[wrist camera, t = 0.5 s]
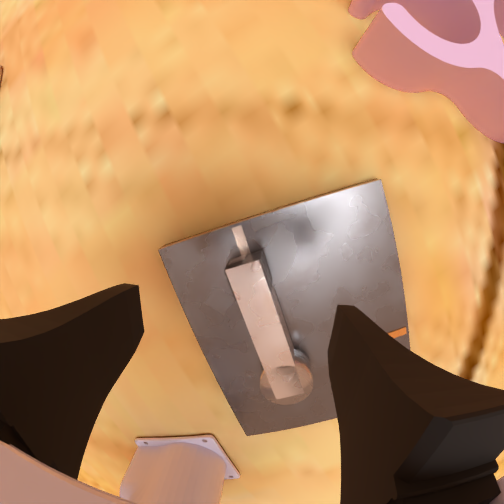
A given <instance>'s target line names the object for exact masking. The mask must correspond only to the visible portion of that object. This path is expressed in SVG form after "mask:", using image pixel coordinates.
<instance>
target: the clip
mask: <svg viewBox="0 0 504 504" xmlns="http://www.w3.org/2000/svg"><path fill="white" fill-rule="evenodd" d="M376 10H380V11H379V12H378V14H377V15H376V17H375V18H374V20H373V21H372V23H371V24H370V26H369V27H368V29H367V30H366V32H365V33H364V35H363V36H362V38H361V39H360V41H359V42H358V44H357V45H356V47H355V48H354V50H353V51H352V55H353V57H354V59H355V60H356V61H357V63H358V64H359V65H360V66H361V67H362V68H363V69H364V70H365V71H366V72H367V73H368V74H369V75H371V76H372V77H373V78H375V79H376V80H378V81H379V82H381V83H383V84H384V85H386V86H388V87H391V88H393V89H396V90H400V91H404V92H414V93H416V92H424V91H434V92H438V93H441V94H443V95H445V96H446V97H448V98H449V99H450V100H451V101H452V102H453V103H454V104H455V105H456V106H457V107H458V109H459V110H460V111H461V113H462V114H463V115H464V116H465V117H466V119H467V120H468V121H469V122H470V123H471V124H472V125H473V126H474V127H475V128H476V129H478V130H479V131H480V132H481V133H483V134H484V135H485V136H487V137H489V138H490V139H492V140H494V141H497V142H500V143H504V44H503V42H502V39H501V36H500V34H501V35H502V36H503V37H504V0H352V2H351V4H350V6H349V9H348V11H349V13H350V14H351V15H352V16H354V17H356V18H358V19H365V18H366V17H367V16H368V15H369V14H370V13H372V12H374V11H376ZM499 33H500V34H499Z"/></svg>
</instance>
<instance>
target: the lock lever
mask: <svg viewBox="0 0 504 504" xmlns="http://www.w3.org/2000/svg"><path fill="white" fill-rule="evenodd" d="M224 273H225V276H226V278H227V281H228V284H229V286H230V289H231V292H232V294H233V297H234V299H235V302H236V301H237V303H238V305H239V308H240V310H241V313H242V315H243V318H244V321H245V323H246V326H247V328H248V331H249V333H250V336H251V338H252V341H253V343H254V346H255V348H256V351H257V353H258V356H259V358H260V361H261V363H262V366H261V377H260V390H261V393H262V395H263V396H264V397H265V398H266V399H267V400H269V401H271V402H273V403H276V404H281V405H290V404H295V403H298V402H300V401H302V400H304V399H305V398H306V397H308V395H309V394H310V393H311V391H312V388H313V378H312V371H311V364H310V360H309V358H308V357H307V356H306V354H304V353H303V352H302V351H300V350H298V349H294V347H293V344H292V341H291V338H290V335H289V332H288V329H287V326H286V323H285V320H284V317H283V314H282V311H281V308H280V305H279V302H278V299H277V296H276V293H275V290H274V287H273V284H272V276H271V273H270V270H269V267H268V264H267V261H266V258H265V255H264V252H263V249H262V250H258V251H255V252H252V253H249V254H245V255H242V256H239V257H235V258H232V259H229V261H228V263H227V265H226V267H225V269H224Z"/></svg>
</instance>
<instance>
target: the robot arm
mask: <svg viewBox="0 0 504 504" xmlns="http://www.w3.org/2000/svg"><path fill="white" fill-rule="evenodd" d="M143 333H144V326H143V319H142V311H141V303H140V294H139V285H132V284H125V283H124V284H120V285H116V286H113V287H111V288H108V289H105V290H103V291H100V292H97V293H95V294H92V295H90V296H87V297H85V298H82V299H80V300H77V301H74V302H71V303H69V304H66V305H63V306H60V307H57V308H54V309H51V310H48V311H44V312H40V313H36V314H32V315H26V316H21V317H15V318H9V319H0V504H220V499H221V494H222V489H223V483H224V479H237V478H239V477H240V473H239V472H238V471H237V469H236V468H235V466H234V465H233V464H232V462H231V461H230V459H229V458H228V456H227V455H226V454H225V452H224V451H223V449H222V448H221V446H220V445H219V443H218V442H217V440H216V439H215V437H214V436H212V435H201V436H187V437H168V438H136V439H135V443H136V444H137V445H138V448H137V450H136V452H135V454H134V456H133V458H132V461H131V463H130V465H129V467H128V469H127V471H126V473H125V476H124V478H123V480H122V482H121V486H120V497H118V496H115V495H112V494H109V493H107V492H104V491H102V490H99V489H97V488H94V487H92V486H89V485H87V484H85V483H82V482H80V481H78V480H77V478H78V474H79V470H80V466H81V462H82V458H83V455H84V452H85V449H86V446H87V443H88V440H89V437H90V434H91V432H92V429H93V426H94V424H95V421H96V419H97V417H98V414H99V412H100V410H101V408H102V405H103V403H104V401H105V399H106V397H107V396H108V394H109V392H110V390H111V389H112V387H113V386H114V384H115V383H116V381H117V379H118V378H119V376H120V375H121V373H122V372H123V370H124V369H125V367H126V366H127V364H128V362H129V361H130V359H131V358H132V356H133V354H134V353H135V351H136V349H137V347H138V345H139V343H140V340H141V338H142V336H143ZM327 353H328V369H329V378H330V383H331V388H332V393H333V398H334V403H335V408H336V413H337V418H338V423H339V431H340V445H341V501H340V504H504V476H503V477H502V478H500V479H499V480H497V481H496V478H495V476H494V474H493V473H495V472H496V471H497V470H498V467H499V466H498V464H497V462H496V460H495V459H496V458H497V457H498V456H499V454H500V453H501V452H502V451H503V450H504V390H501V389H497V388H493V387H489V386H485V385H481V384H478V383H475V382H472V381H469V380H467V379H464V378H461V377H459V376H456V375H454V374H452V373H450V372H448V371H445V370H443V369H441V368H439V367H437V366H435V365H433V364H432V363H430V362H428V361H426V360H425V359H423V358H421V357H420V356H418V355H416V354H415V353H413V352H412V351H410V350H409V349H407V348H406V347H405V346H403V345H402V344H400V343H399V342H398V341H396V340H395V339H394V338H393V337H391V336H390V335H389V334H388V333H386V332H385V331H384V330H383V329H382V328H380V327H379V326H378V325H377V324H376V323H375V322H373V321H372V320H371V319H370V318H369V317H368V316H367V315H365V314H364V313H363V312H362V311H361V310H359V309H358V308H357V307H355V306H354V305H337V309H336V314H335V319H334V324H333V329H332V333H331V338H330V342H329V347H328V351H327Z"/></svg>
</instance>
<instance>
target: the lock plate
mask: <svg viewBox="0 0 504 504" xmlns="http://www.w3.org/2000/svg"><path fill="white" fill-rule="evenodd" d="M262 249H263V252H264V255H265V258H266V261H267V264H268V267H269V270H270V273H271V276H272V284H273V287H274V290H275V293H276V296H277V299H278V302H279V305H280V308H281V311H282V314H283V317H284V320H285V323H286V326H287V329H288V332H289V335H290V338H291V341H292V344H293V347H294V349H298V350H300V351H302V352H303V353H304V354H306V356H307V357H308V358H309V360H310V364H311V371H312V378H313V388H312V391H311V393H310V394H309V395H308V397H306V398H305V399H304V400H302V401H300V402H298V403H295V404H290V405H281V404H276V403H273V402H271V401H269V400H267V399H266V398H265V397H264V396H263V395H262V393H261V390H260V377H261V366H262V363H261V361H260V358H259V356H258V353H257V351H256V348H255V346H254V343H253V341H252V338H251V336H250V333H249V331H248V328H247V326H246V323H245V321H244V318H243V315H242V313H241V310H240V308H239V305H238V303H237V301H236V302H235V299H234V297H233V294H232V292H231V289H230V286H229V284H228V281H227V278H226V276H225V273H224V269H225V267H226V265H227V263H228V261H229V259H232V258H235V257H239V256H242V255H245V254H249V253H252V252H255V251H258V250H262ZM159 253H160V256H161V258H162V261H163V263H164V265H165V268H166V270H167V273H168V275H169V278H170V280H171V282H172V285H173V287H174V290H175V292H176V294H177V297H178V299H179V301H180V303H181V306H182V308H183V310H184V312H185V315H186V317H187V319H188V321H189V324H190V326H191V328H192V330H193V332H194V334H195V337H196V339H197V341H198V343H199V345H200V347H201V349H202V351H203V353H204V355H205V358H206V360H207V362H208V364H209V366H210V368H211V370H212V372H213V374H214V376H215V378H216V380H217V382H218V384H219V385H220V387H221V389H222V391H223V393H224V395H225V397H226V399H227V401H228V403H229V405H230V406H231V408H232V410H233V412H234V414H235V416H236V418H237V419H238V421H239V423H240V425H241V427H242V428H243V430H244V432H245V434H246V435H247V436H250V435H257V434H263V433H269V432H275V431H280V430H286V429H291V428H296V427H300V426H305V425H310V424H314V423H318V422H322V421H326V420H330V419H334V418H337V413H336V408H335V403H334V398H333V393H332V388H331V383H330V378H329V369H328V353H327V351H328V347H329V342H330V338H331V333H332V329H333V324H334V319H335V314H336V309H337V305H354V306H355V307H357V308H358V309H359V310H361V311H362V312H363V313H364V314H365V315H367V316H368V317H369V318H370V319H371V320H372V321H373V322H375V323H376V324H377V325H378V326H379V327H380V328H382V329H383V330H384V331H385V332H386V333H388V334H389V335H390V336H391V337H393V338H394V339H395V340H396V341H398V342H399V343H400V344H402V345H403V346H405V347H406V348H407V349H409V350H410V342H409V331H408V321H407V312H406V304H405V296H404V289H403V283H402V276H401V270H400V264H399V258H398V253H397V248H396V242H395V237H394V232H393V228H392V223H391V219H390V214H389V210H388V206H387V202H386V197H385V193H384V190H383V186H382V182H381V179H374V180H370V181H367V182H363V183H360V184H356V185H353V186H349V187H346V188H342V189H339V190H336V191H332V192H329V193H326V194H322V195H319V196H316V197H312V198H309V199H306V200H302V201H299V202H296V203H293V204H289V205H286V206H283V207H280V208H277V209H273V210H270V211H267V212H264V213H261V214H258V215H255V216H252V217H248V218H245V219H242V220H239V221H236V222H233V223H230V224H227V225H224V226H221V227H218V228H215V229H212V230H209V231H206V232H203V233H200V234H197V235H194V236H191V237H188V238H185V239H182V240H180V241H177V242H174V243H171V244H168V245H165V246H163V247H161V248H160V249H159Z"/></svg>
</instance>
